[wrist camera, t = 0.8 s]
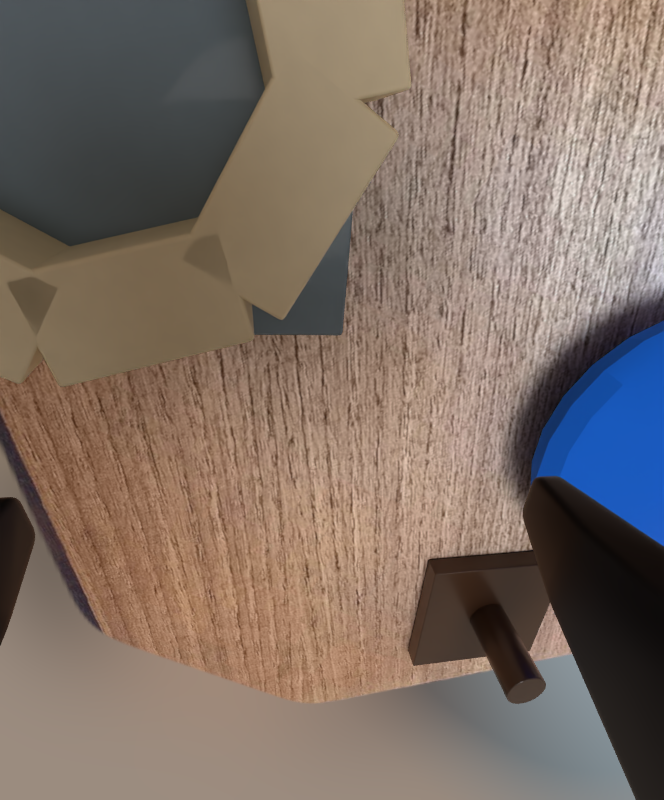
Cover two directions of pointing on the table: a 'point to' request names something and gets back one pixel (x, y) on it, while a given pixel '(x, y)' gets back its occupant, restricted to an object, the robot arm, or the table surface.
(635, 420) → the blue rounded piece
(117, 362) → the ring
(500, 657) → the stand
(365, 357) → the table surface
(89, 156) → the block
